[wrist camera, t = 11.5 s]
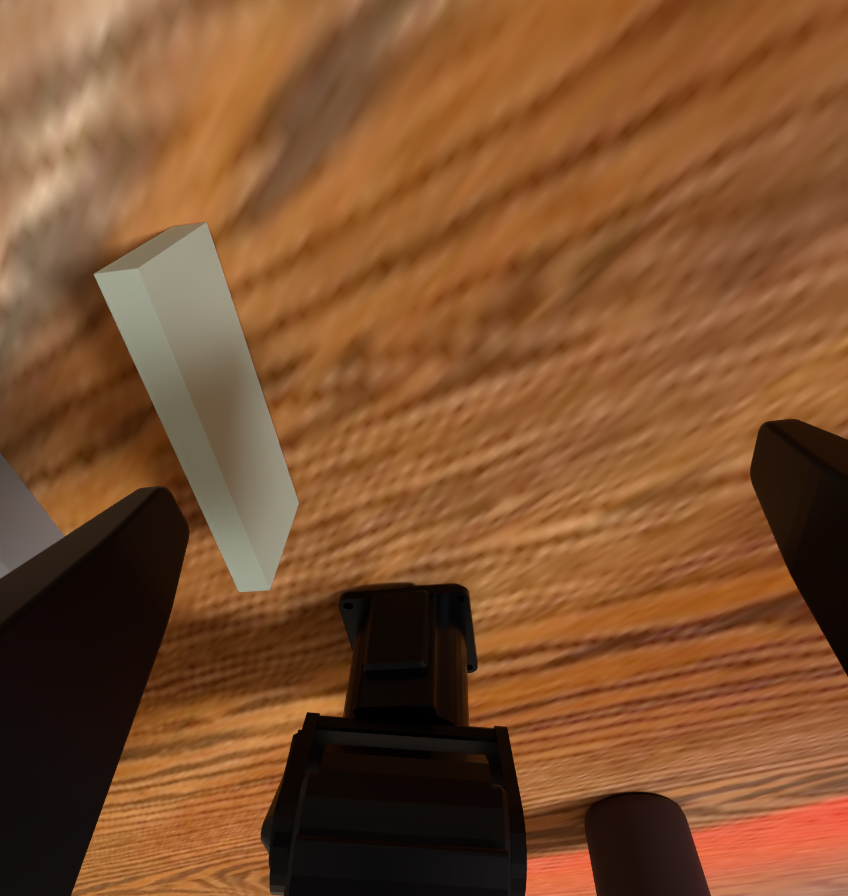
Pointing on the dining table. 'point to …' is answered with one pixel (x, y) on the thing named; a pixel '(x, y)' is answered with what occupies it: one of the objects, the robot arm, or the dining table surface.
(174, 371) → the panel
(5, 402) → the dining table surface
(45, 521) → the offcut upper
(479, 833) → the robot arm
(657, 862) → the wine bottle
